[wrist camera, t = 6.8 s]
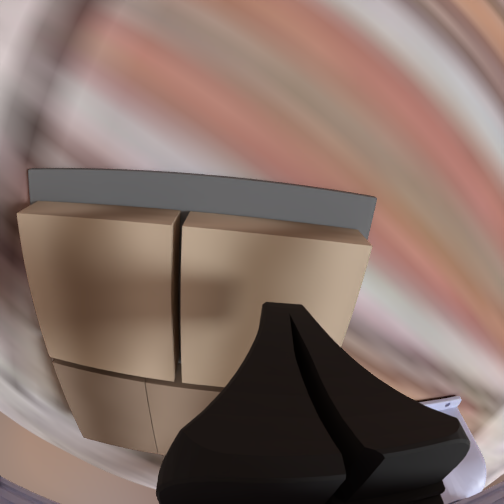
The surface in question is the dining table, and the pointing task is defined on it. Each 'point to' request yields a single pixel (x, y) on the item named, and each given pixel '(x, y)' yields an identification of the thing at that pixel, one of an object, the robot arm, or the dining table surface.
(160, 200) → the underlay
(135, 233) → the plank
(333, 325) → the plank
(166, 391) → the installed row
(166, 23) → the dining table surface
